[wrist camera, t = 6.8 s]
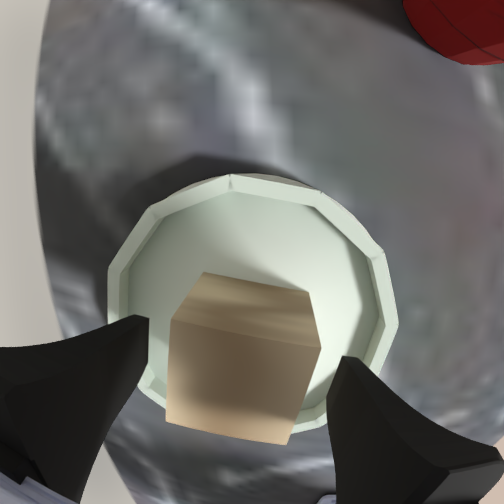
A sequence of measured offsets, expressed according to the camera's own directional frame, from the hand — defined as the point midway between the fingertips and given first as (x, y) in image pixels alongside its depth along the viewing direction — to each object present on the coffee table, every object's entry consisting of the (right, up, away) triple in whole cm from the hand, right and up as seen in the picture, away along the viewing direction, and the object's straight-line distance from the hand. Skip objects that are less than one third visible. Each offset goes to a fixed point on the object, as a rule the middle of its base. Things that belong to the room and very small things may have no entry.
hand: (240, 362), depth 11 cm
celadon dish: (0, +1, +4) cm, 4 cm away
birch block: (0, +1, +3) cm, 3 cm away
